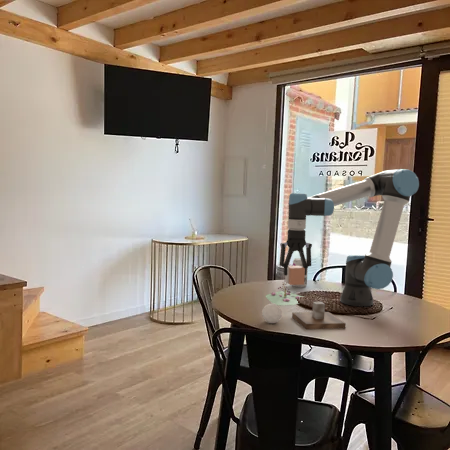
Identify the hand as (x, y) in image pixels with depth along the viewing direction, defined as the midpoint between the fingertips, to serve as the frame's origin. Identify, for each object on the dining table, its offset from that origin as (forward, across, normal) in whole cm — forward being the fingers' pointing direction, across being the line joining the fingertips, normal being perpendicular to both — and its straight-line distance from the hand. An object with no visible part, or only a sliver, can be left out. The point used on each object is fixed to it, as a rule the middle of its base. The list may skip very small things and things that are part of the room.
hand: (294, 282), depth 192 cm
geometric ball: (+13, -14, -15) cm, 24 cm away
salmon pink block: (0, 0, 0) cm, 0 cm away
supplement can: (+13, +22, +52) cm, 58 cm away
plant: (+14, +4, +22) cm, 26 cm away
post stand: (+13, +4, -16) cm, 21 cm away
